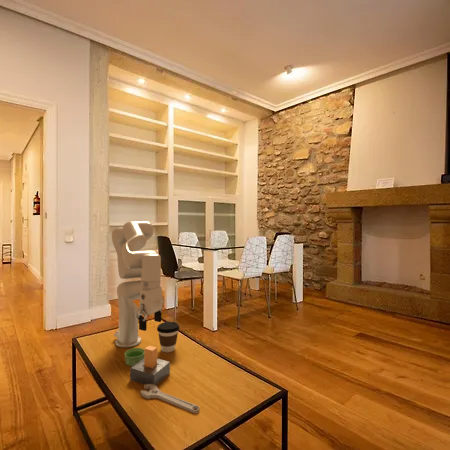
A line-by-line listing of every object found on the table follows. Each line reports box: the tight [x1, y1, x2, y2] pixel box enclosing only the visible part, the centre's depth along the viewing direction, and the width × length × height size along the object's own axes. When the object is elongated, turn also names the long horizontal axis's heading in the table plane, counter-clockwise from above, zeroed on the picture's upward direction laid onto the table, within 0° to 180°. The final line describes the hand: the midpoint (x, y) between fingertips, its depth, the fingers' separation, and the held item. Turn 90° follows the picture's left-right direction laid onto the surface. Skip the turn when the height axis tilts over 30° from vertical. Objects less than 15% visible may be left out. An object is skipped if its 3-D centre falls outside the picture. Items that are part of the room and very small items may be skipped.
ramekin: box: [123, 347, 145, 367], centre depth 129 cm, size 9×9×4 cm
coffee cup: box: [156, 321, 180, 353], centre depth 141 cm, size 11×11×12 cm
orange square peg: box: [143, 345, 158, 369], centre depth 117 cm, size 3×4×12 cm
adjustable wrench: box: [140, 384, 200, 414], centre depth 102 cm, size 25×6×2 cm, turn 58°
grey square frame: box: [129, 358, 171, 386], centre depth 117 cm, size 12×11×5 cm
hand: (150, 325), depth 117 cm, fingers open, 9 cm apart
